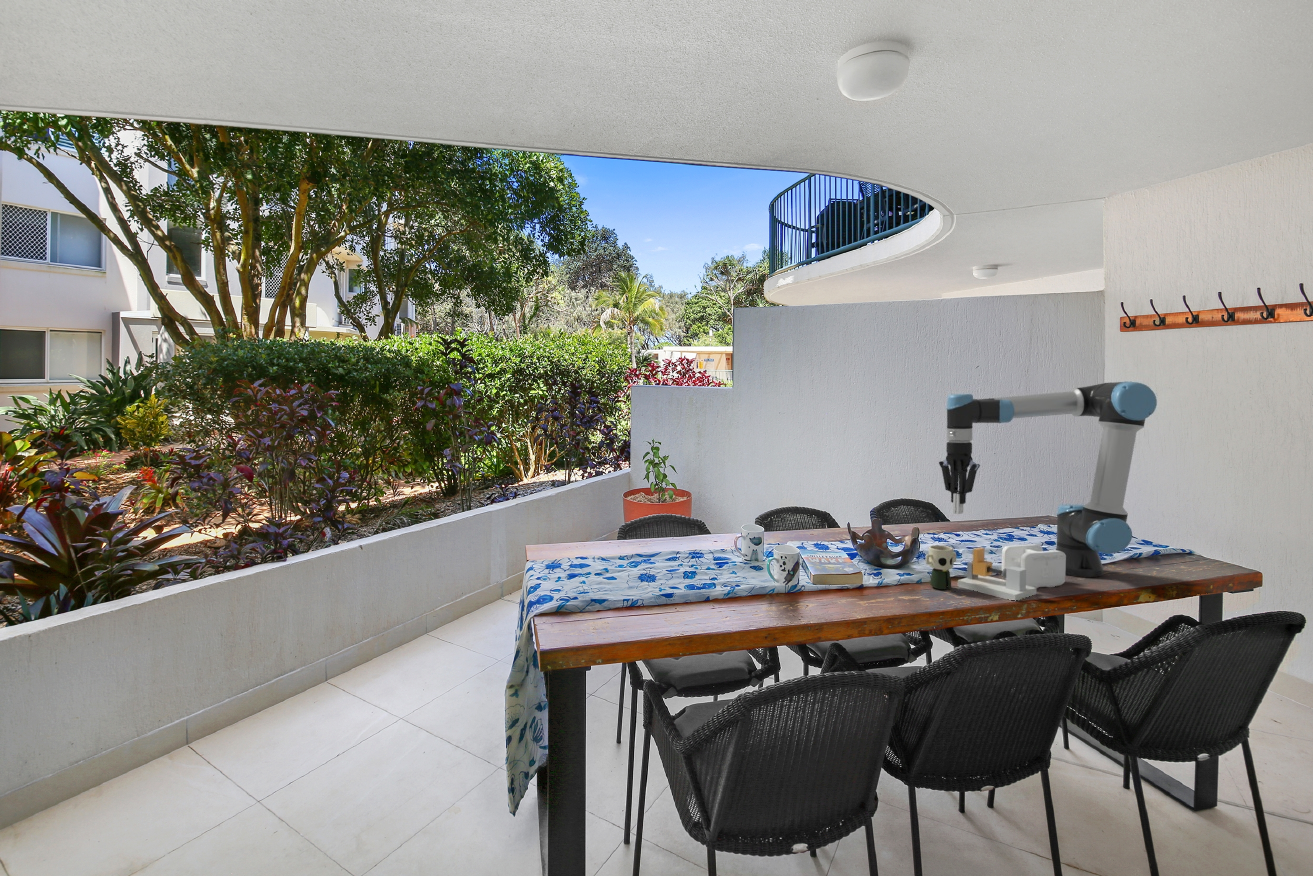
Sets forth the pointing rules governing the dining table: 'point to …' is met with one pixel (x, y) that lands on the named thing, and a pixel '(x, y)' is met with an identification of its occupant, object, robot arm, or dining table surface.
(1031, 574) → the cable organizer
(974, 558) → the sleeve
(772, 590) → the dining table surface
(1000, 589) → the slider rail fixture
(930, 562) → the character mug
